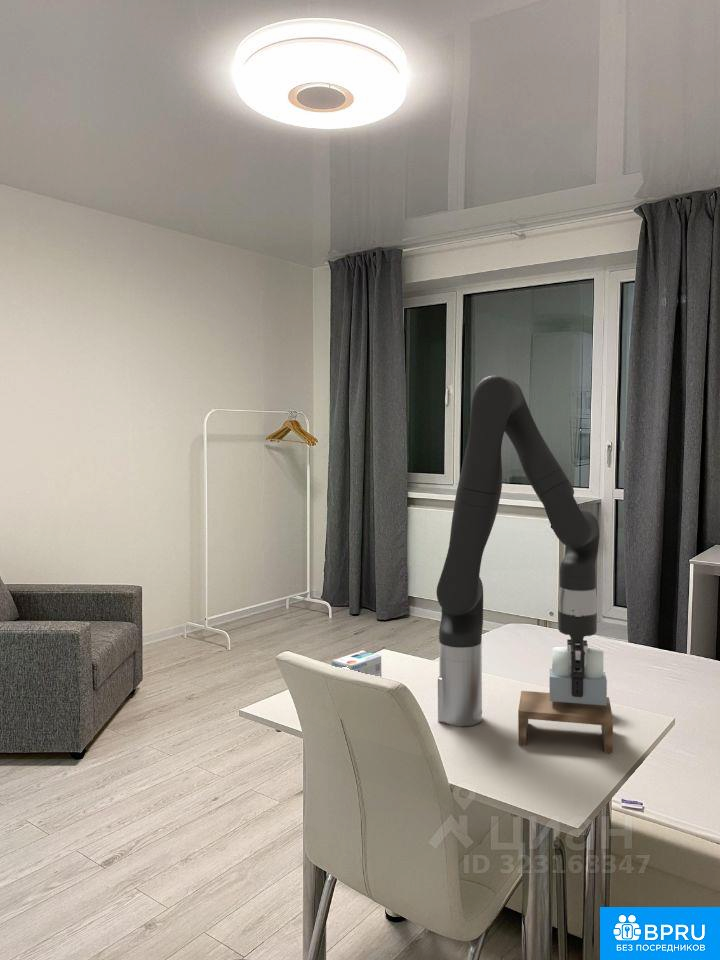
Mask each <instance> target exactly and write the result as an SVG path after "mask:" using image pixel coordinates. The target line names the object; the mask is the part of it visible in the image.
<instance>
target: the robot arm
mask: <svg viewBox="0 0 720 960" xmlns="http://www.w3.org/2000/svg"><path fill="white" fill-rule="evenodd" d="M469 419H470V420H469V428H468V429H469V430H468V437H467V443H466V448H465V452H464V456H463V460H462V465H461V471H460V475H459V478H458V479H459V480H458V484H457V489H456V493H455V498H454V504H453V505H454V506H453V511H452V518H451V519H452V520H451V524H450V525H451V526H450V534H449V545H448V550H447V554H446V556H445V557H446V558H445V561H444V565H443V567H442V571H441V574H440V577H439V580H438V583H437V584H436V585H437V586H436V591H435V592H436V597H437V602H438V604H439V605H440V607H441V617H440V625H439V631H438V643H439V644H438V645H439V649H438V654H439V655H438V656H439V657H438V658H439V664H438V665H439V668H438V669H439V672H438V673H439V676H438V677H437V722H440V723H445V724H447V725H450V726H456V727H469V726H475V725H477V724H480V723H481V722H482V720H483V676H482V675H483V673H482V672H483V667H482V666H483V663H482V662H483V656H482V655H483V653H482V648H483V646H482V643H483V642H482V638H483V637H482V635H483V629H484V628H483V627H484V584H483V582H482V578H481V577H480V573H481V565H482V560H483V553H484V550H485V547H486V545H487V542H488V540H489V538H490V535H491V533H492V529H493V527H494V524H495V521H496V517H497V513H498V510H499V504H500V499H501V495H502V489H503V463H502V461H503V460H502V447H503V446H502V444H503V439H504V435H505V434H506V435H507V436H508V438H509V440H510V442H511V443H512V446H513V447H514V449H515V452H516V454H517V457H518V459H519V463H520V465H521V467H522V470H523V473H524V475H525V477H526V478H527V480H528V483H529V484H530V486H531V487H532V489H533V491H534V492H535V494H536V496H537V497H538V499H539V501H540V503H542V505H543V507H544V510H545V514H546V516H547V519H548V522H549V524H550V526H551V529H552V530H553V532H554V534H555V536H556V538H557V539H558V540H559V542H560V543H562V545H564V555H563V556H564V557H563V558H562V560H561V563H560V567H559V591H558V598H557V600H558V603H557V605H558V606H557V607H558V608H557V609H558V610H557V611H558V612H557V613H558V616H557V622H558V623H557V624H558V625H557V629H558V632H560V633H561V634H563V635H565V636H569V638H570V639H568V638H567V640H566V641H567V642H566V643H567V644H566V647H567V651H568V652H569V666H571V674H570V676H571V678H572V696H573V697H582V696H583V679H584V677H585V674H584V667H586V653H587V651H588V648H589V647H588V646H589V645H588V640H584V638H585V637H591V636H594V635H596V634H597V631H598V623H597V622H598V619H597V618H598V600H597V599H598V598H597V592H596V590H597V589H596V586H597V578H596V576H597V573H596V572H597V571H596V563H597V557H598V551H599V545H600V524H599V521H598V519H597V517H596V516H595V515H594V514H593V513H591V512H589V510H583V509H581V508H580V506H579V505H578V502H577V500H576V499H575V497H574V494H575V490H574V487H573V485H572V483H571V481H570V479H569V478H568V477H567V474H566V473H565V471H564V470H563V468H562V467H561V465H560V463H559V462H558V460H557V458H556V456H555V455H554V454H553V452H552V451H551V449H550V448H549V446H548V444H547V442H546V441H545V439H544V437H543V436H542V433H540V430H539V428H538V426H537V424H536V422H535V420H534V418H533V415H532V413H531V411H530V408H529V406H528V403H527V399H525V396H524V393H523V390H522V389H521V387H520V385H519V384H517V382H515V381H513V380H512V379H510V378H506V377H504V376H501V375H489V376H486V377H483V378H482V379H481V380H480V381H479V382H478V383H477V384H476V387H475V388H474V391H473V393H472V398H471V407H470V417H469ZM571 650H572V652H571ZM574 668H575V670H578V671H581V672H574ZM580 668H581V669H580Z"/></svg>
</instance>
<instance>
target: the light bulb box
mask: <svg viewBox="0 0 720 960" xmlns="http://www.w3.org/2000/svg"><path fill="white" fill-rule="evenodd" d="M332 666H335V667H341V668H342V667H347V666H348V667H347V668H349V669H350V670H354V671H358V672H361V673H365V674H370V675H375V676H380V677H382V676H383V675H382V673H383V672H382V655H381V654H377V653H375V652H369V651H366V650H360V651H356V652H353V653H350V654H349V655H346V656H342V657H339V658H335V659H332V660H331V667H332Z"/></svg>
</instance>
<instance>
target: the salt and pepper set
mask: <svg viewBox="0 0 720 960" xmlns="http://www.w3.org/2000/svg"><path fill="white" fill-rule="evenodd" d="M571 652H572V650H571ZM551 654H552V655H551V656H552V657H551V660H552V661H551V664H552V665H551V668H549V693H550V701H555V702H568V703H580V704H593V705H606V706H607V697H608V696H607V694H608V692H607V691H608V690H607V689H608V686H607V685H608V683H607V682H608V680H607V675H606V671H604V650H602V649H600V648H594V647H588V651H587V653H586V667H584V674H585V677H584V679H583V696H582V697H573V696H572V678H571V676H570V674H571V666H569V652H568V651H567V646H554V647H552V649H551ZM574 672H581V671H578V670H575V668H574Z"/></svg>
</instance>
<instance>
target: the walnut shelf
mask: <svg viewBox="0 0 720 960" xmlns="http://www.w3.org/2000/svg"><path fill="white" fill-rule="evenodd" d="M519 697H520V698H519V702H518V703H519V704H518V711H517V712H518V713H517V715H518V718H517V719H518V720H517V724H518V725H517V730H518V731H517V732H518V735H517V737H518V739H517V740H518V741H517V742H518V744H520V745H519V746H525V745H526V746H527V740H528V738H527V737H528V731H529V730H528V729H529V720H535V721H536V720H537V721H546V722H558V723H560V722H561V723H572V724H581V725H582V724H583V725H593V726H595V725H597V726H600V727H601V728H600V729H601V730H602V731H601V737H603V738H602V744H603V751H604V754H609V753H613V752H614V749H613V748H614V745H613V744H614V740H613V739H614V718H613V711H612V707H611V702H610V697H609V696H607V706H606V705H593V704H580V703H568V702H555V701H550V692H544V691H532V690H531V691H530V690H529V691H528V690H521V691H520V696H519ZM613 754H614V753H613Z"/></svg>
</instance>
